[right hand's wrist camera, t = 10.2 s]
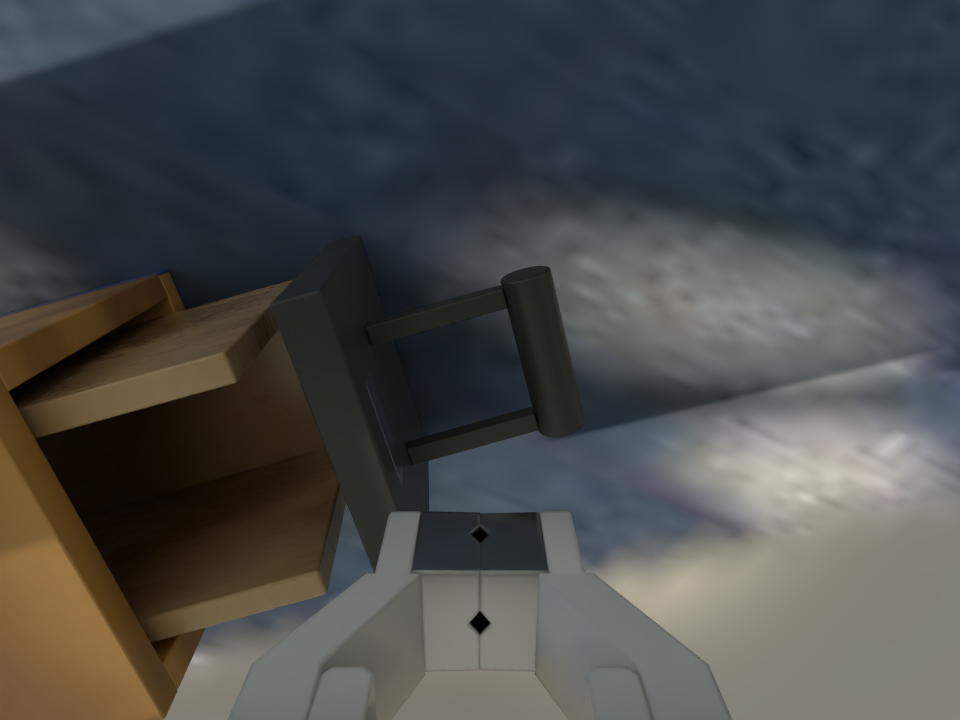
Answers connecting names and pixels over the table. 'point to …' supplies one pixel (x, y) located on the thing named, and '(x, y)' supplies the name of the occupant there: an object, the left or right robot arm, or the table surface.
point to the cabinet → (70, 542)
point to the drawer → (268, 433)
